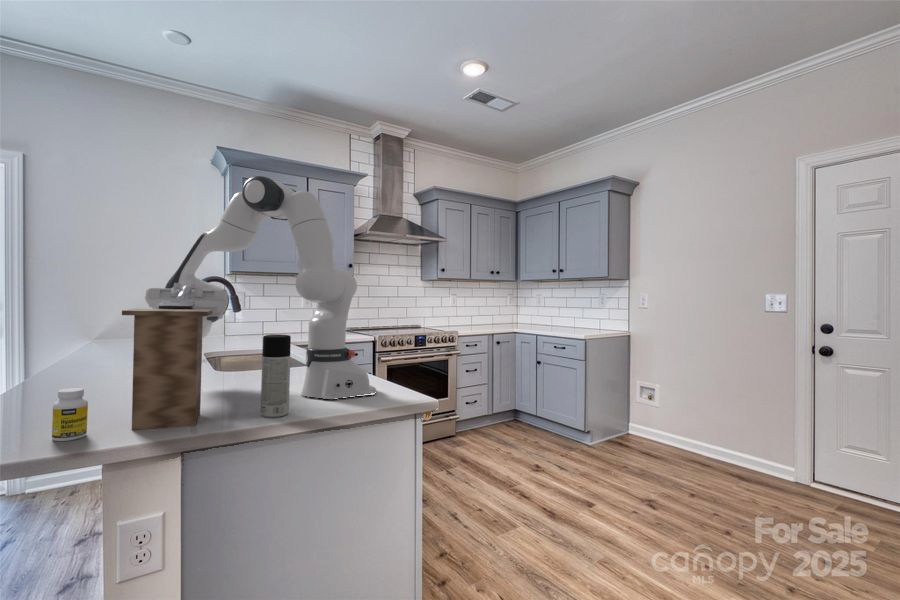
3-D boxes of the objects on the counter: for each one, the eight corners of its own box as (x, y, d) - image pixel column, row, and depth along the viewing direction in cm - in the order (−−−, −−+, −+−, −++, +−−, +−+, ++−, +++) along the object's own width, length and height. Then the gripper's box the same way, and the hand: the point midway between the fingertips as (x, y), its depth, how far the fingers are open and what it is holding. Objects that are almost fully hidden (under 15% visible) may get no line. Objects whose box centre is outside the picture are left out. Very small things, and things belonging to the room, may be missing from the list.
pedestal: (209, 413, 109) (212, 309, 109) (204, 425, 99) (207, 311, 99) (133, 418, 103) (135, 308, 103) (119, 432, 93) (121, 310, 93)
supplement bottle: (57, 443, 85) (58, 393, 85) (47, 438, 88) (48, 390, 88) (91, 436, 90) (92, 389, 90) (81, 431, 93) (82, 385, 93)
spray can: (293, 411, 113) (295, 334, 113) (280, 419, 106) (283, 337, 106) (269, 410, 114) (271, 333, 113) (254, 417, 107) (257, 336, 107)
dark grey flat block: (201, 294, 124) (201, 285, 123) (192, 315, 108) (192, 306, 108) (172, 293, 121) (172, 284, 121) (158, 315, 106) (158, 305, 105)
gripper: (151, 298, 128) (141, 273, 117) (229, 300, 136) (227, 277, 125) (148, 317, 125) (138, 294, 114) (228, 318, 133) (225, 296, 122)
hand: (185, 285), depth 120 cm, fingers closed on dark grey flat block, 3 cm apart
